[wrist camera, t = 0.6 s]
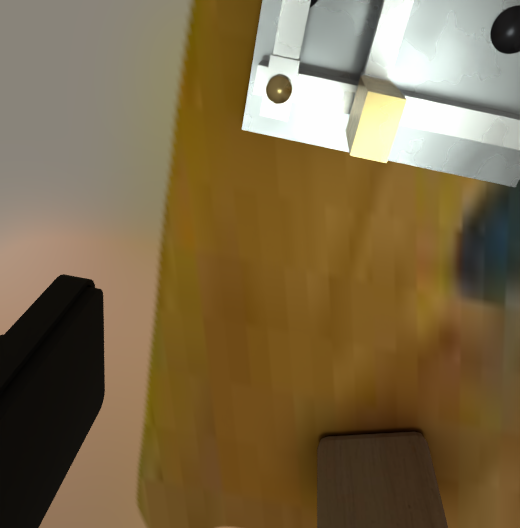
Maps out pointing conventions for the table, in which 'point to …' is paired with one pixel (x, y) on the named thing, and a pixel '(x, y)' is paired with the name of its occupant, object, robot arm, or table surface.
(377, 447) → the wooden block
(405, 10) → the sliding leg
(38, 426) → the robot arm
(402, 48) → the bolt plate
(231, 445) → the table surface
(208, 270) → the table surface
